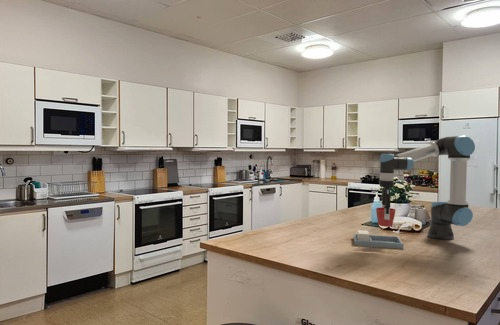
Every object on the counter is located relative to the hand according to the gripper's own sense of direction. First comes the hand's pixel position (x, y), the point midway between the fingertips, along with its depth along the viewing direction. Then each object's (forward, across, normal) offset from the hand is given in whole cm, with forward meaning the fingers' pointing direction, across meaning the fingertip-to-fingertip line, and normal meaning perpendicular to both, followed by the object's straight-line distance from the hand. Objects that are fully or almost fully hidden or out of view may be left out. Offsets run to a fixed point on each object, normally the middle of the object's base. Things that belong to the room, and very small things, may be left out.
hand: (385, 217), depth 214 cm
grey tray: (+16, 0, -4) cm, 17 cm away
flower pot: (+5, 0, 0) cm, 5 cm away
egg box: (+15, 0, -12) cm, 20 cm away
